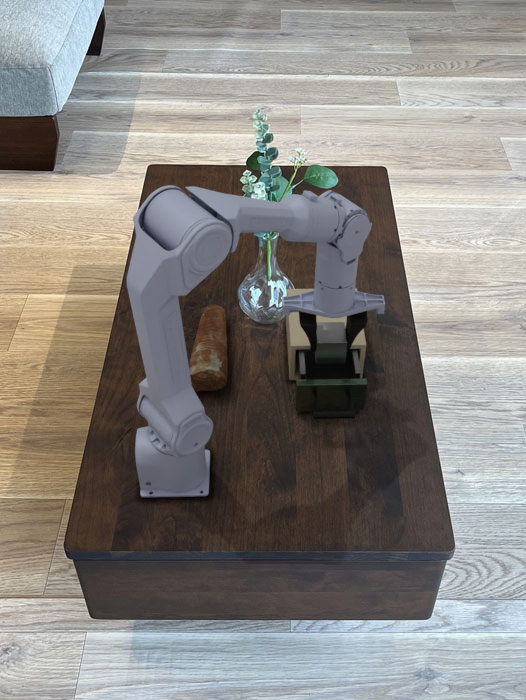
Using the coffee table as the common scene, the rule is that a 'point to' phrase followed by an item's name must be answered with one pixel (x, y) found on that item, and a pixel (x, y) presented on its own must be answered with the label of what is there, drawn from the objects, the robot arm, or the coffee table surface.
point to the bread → (210, 351)
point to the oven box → (301, 341)
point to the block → (330, 343)
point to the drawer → (329, 386)
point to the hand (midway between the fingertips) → (329, 346)
